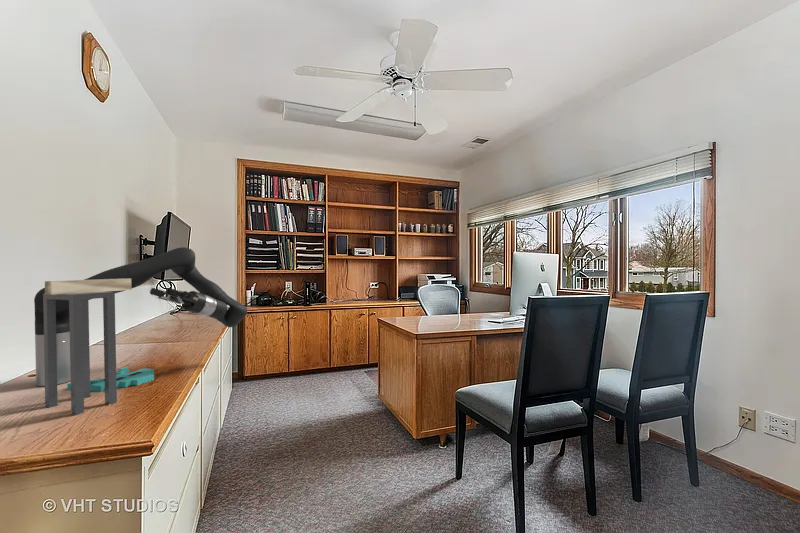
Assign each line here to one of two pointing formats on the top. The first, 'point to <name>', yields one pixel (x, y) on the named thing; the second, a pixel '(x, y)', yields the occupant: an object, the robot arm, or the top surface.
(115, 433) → the top surface
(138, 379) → the alien figure
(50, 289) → the block
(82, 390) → the stand
